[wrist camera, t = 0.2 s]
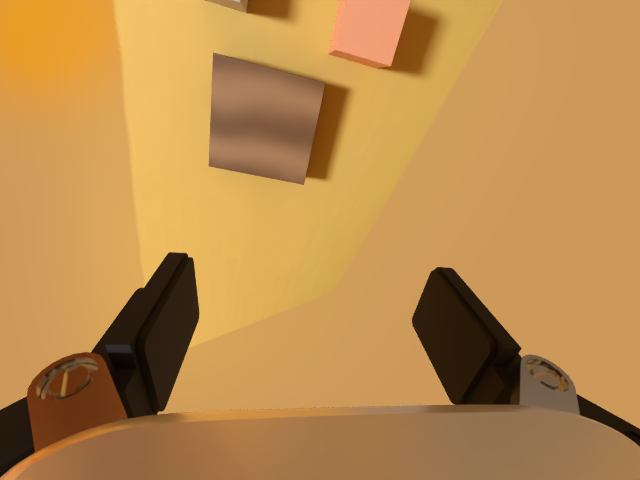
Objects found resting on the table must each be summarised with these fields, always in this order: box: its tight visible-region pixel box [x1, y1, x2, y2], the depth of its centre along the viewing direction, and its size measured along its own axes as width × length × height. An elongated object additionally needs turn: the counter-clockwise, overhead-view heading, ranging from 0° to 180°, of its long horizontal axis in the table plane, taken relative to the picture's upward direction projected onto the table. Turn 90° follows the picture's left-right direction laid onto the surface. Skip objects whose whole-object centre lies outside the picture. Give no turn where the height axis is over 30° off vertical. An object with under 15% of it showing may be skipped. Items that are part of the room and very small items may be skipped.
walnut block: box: [209, 53, 325, 185], centre depth 34 cm, size 12×12×4 cm
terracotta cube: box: [328, 0, 411, 68], centre depth 29 cm, size 6×6×6 cm
